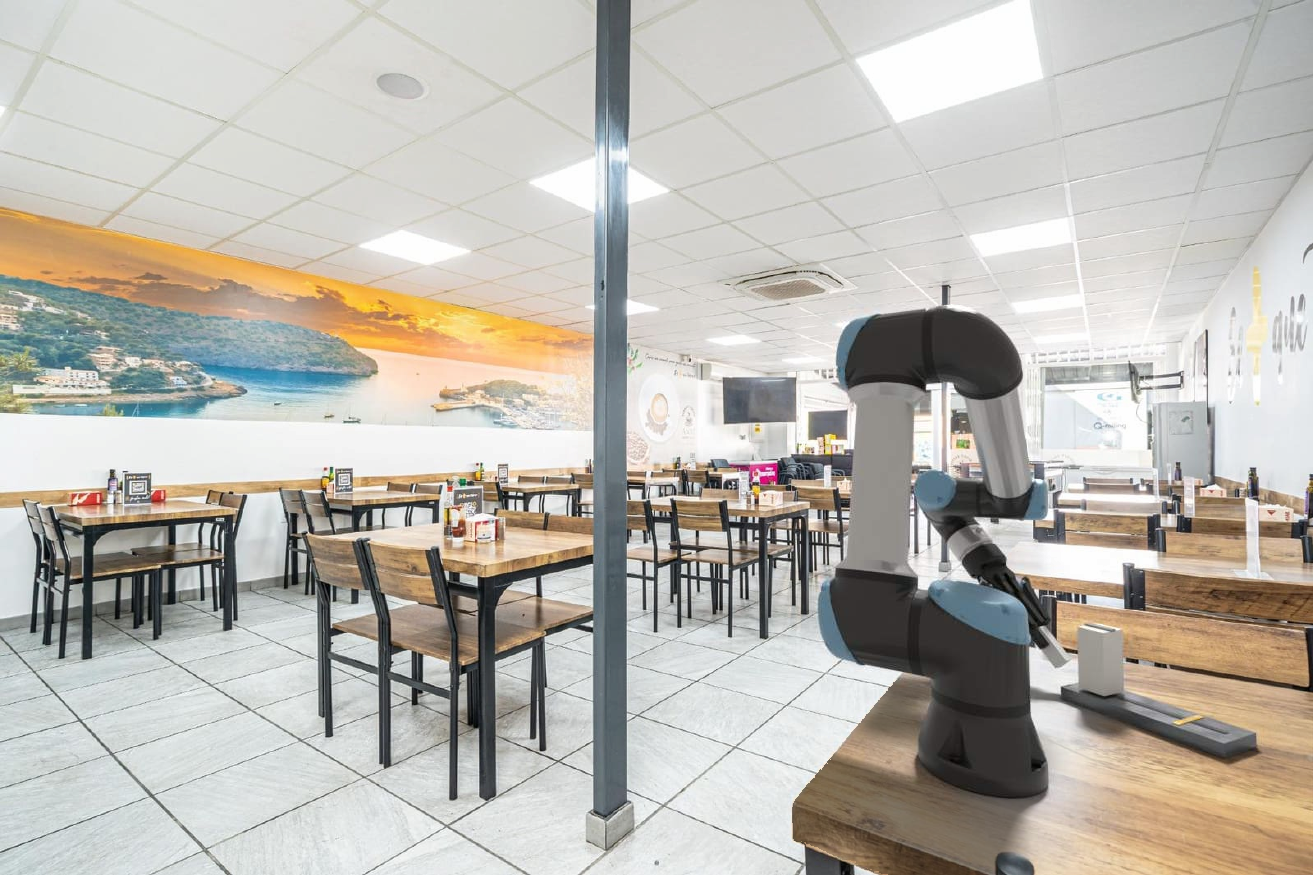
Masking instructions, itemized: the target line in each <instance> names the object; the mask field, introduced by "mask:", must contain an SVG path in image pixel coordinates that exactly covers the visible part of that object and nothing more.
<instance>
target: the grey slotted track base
mask: <svg viewBox="0 0 1313 875" xmlns="http://www.w3.org/2000/svg"><path fill="white" fill-rule="evenodd" d="M1060 699H1061V700H1064V701H1066V702H1069V703H1071V704H1074V705H1078V706H1080V707H1083V708H1085V709H1088V710H1090V711H1094V712H1097V713H1099V714H1102V715H1105V716H1107V717H1110V718H1113V719H1115V720H1117V721H1122V722H1124V723H1126V724H1129V725H1132V726H1135V727H1138V728H1139V729H1142V730H1146V731H1148V732H1151V733H1153V734H1156V735H1159V736H1162V737H1165V738H1167V739H1170V740H1173V741H1176V742H1178V743H1180V744H1183V745H1187V746H1189V747H1191V748H1195V749H1197V750H1200V751H1203V752H1205V753H1209V754H1211V755H1213V756H1216V757H1219V758H1222V759H1228V758H1230V757H1233V756H1236V755H1238V754H1241V753H1245V752H1247V751H1250V750H1253V749H1255V748H1257V747H1258V746H1257V742H1258V741H1257V732H1255V731H1253V730H1249V729H1247V728H1246V729H1245V728H1243V727H1239V726H1236V725H1234V724H1231V723H1227V722H1224V721H1222V720H1218V719H1215V718H1213V717H1209V716H1206V715H1202V714H1199V713H1197V712H1194V711H1191V710H1187V709H1184V708H1181V707H1178V706H1174V705H1172V704H1168V703H1166V702H1162V701H1159V700H1156V699H1153V698H1150V697H1147V696H1145V695H1144V696H1143V695H1141V694H1137V693H1135V692H1132V691H1129V690H1126V689H1124V692H1120V693H1116V694H1112V695H1108V696H1102V695H1099V694H1096V693H1093V692H1090V691H1087V690H1085V689H1082V688H1079V681H1077V682H1076V683H1075V682H1074V683H1071V684H1070V683H1069V684H1066V685H1062V686H1060Z"/></svg>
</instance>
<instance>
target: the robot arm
mask: <svg viewBox="0 0 1313 875" xmlns="http://www.w3.org/2000/svg"><path fill="white" fill-rule="evenodd" d="M836 348H837V349H836V354H835V355H836V356H835V366H836V367H837V369H836V377H837V381H838V382H839V384H840V386H841V387H842V388H843V389H846V390H847V398H849V399H850V400H851V401H852V402H853V403H854V405H855V406H856V410H855V411H856V412H855V424H854V438H853V439H854V441H853V456H852V468H851V469H852V472H851V473H852V474H851V486H850V487H851V488H850V501H849V519H848V520H849V521H848V530H847V532H848V533H847V549H846V556H845V557H844V559H842V560H841V561H840V562H839V563H838V564H836V565H835V568H834V569H835V570H834V577H833V576H832V577H830V578H827V579H825V580H824V581H823V583H822V585H821V586H820V592H819V593H818V598H817V618H818V627H819V631H820V634H821V638H822V640H823V642H824V645H825V647H826V648H827V650H828V651H829V653H831V655H833V656H834V657H836V659H837V658H838V659H840V660H844V661H848V662H852V663H855V664H856V665H859V666H870V667H875V668H880V669H884V670H890V671H895V672H901V673H905V674H910V675H914V676H920V677H925V678H928V679H930V683H931V684H930V685H931V686H930V687H931V690H930V692H931V694H930V695H931V698H930V703H929V705H928V708H927V711H926V714H925V717H924V719H923V723H922V726H921V729H920V732H919V735H918V740H917V744H918V745H917V747H918V748H917V752H918V754H917V755H918V756H917V757H918V759H919V761H920V763H921V765H922V766H923V767H924V768H925V769H927V771H929V772H930V773H931V774H933V775H934V776H935V777H936V778H939V779H940V780H943V781H945V782H947V783H949V784H951V785H953V786H956V787H959V788H962V789H964V790H967V791H970V792H975V793H979V794H981V795H982V794H984V795H987V796H994V797H1004V798H1005V797H1006V798H1022V797H1029V796H1033V795H1038V794H1040V793H1042V792H1043V791H1044V790H1045V789H1046V788H1047V787H1048V785H1049V763H1048V759H1047V756H1046V753H1045V751H1044V749H1043V745H1042V743H1041V740H1040V737H1039V734H1038V731H1037V729H1036V726H1035V724H1034V723H1035V722H1034V721H1033V718H1032V714H1031V713H1032V711H1031V710H1032V709H1031V708H1032V707H1031V675H1030V674H1031V673H1030V644H1031V641H1032V642H1034V644H1035V645H1036V647H1037V648H1039V650H1041V652H1042V653H1043V654H1044V656H1045V657H1046V658H1047V659H1048V661H1049V663H1050V664H1051V665H1052V667H1054V669H1059V668H1062V667H1064V666H1065V665H1066V664H1068V663H1069V662H1071V661H1072V658H1071V657H1070V655H1069V654H1068V653H1067V652H1066V650H1065V649H1064V648H1063V647H1062V645H1061V644H1060V643H1059V641H1058V639H1057V638H1056V637H1055V635H1054V634H1053V633H1052V631H1051V630H1050V629H1049V628H1048V626H1049V624H1050V623H1051V621H1052V618H1051V617H1050V615H1049V613H1048V612H1047V610H1046V608H1045V607H1044V605H1043V604H1042V602H1041V600H1040V598H1039V597H1038V595H1037V593H1036V591H1034V589H1033V587H1032V584H1031V580H1030V578H1029V577H1028V576H1023V577H1022V578H1021V577H1019V576H1016V573H1015V572H1014V571H1013V570H1011V569H1010V568H1009V566H1008V565H1007V560H1008V559H1007V557H1006V555H1005V554H1004V553H1003V551H1002V550H1001V548H1000V547H999V546H998V545H997V544H995V543H994V542H993V539H992V538H991V537H990V536H989V534H988V533H987V532H986V530H984V528H983V527H982V526H981V524H980V523H979V522H978V521H977V519H976V518H978V519H979V518H985V519H1000V520H1011V521H1014V520H1016V521H1021V522H1024V521H1042V520H1045V519H1046V517H1047V516H1048V513H1049V511H1048V510H1049V490H1048V489H1049V488H1048V484H1047V483H1046V481H1045V480H1044V479H1040V478H1039V479H1038V478H1035V477H1032V472H1031V467H1030V459H1029V453H1028V447H1027V446H1028V445H1027V441H1026V440H1027V439H1026V434H1025V428H1024V427H1025V426H1024V421H1023V415H1022V409H1021V408H1022V407H1021V403H1020V395H1019V389H1018V387H1019V386H1020V385H1021V384H1022V382H1023V379H1024V372H1023V365H1022V360H1021V356H1020V354H1019V351H1018V349H1017V347H1016V346H1015V344H1014V342H1013V341H1012V339H1011V338H1010V337H1009V335H1008V334H1007V333H1006V332H1005V331H1004V330H1003V329H1002V328H1001V327H1000V325H999V324H997V323H996V322H994V321H993V320H992V319H991V318H990V317H988V316H986V315H984V314H982V313H980V312H979V311H977V310H974V309H973V308H969V307H967V306H962V305H956V304H955V305H954V304H944V305H943V304H942V305H937V306H933V307H927V308H925V307H924V308H919V309H911V310H905V311H897V312H888V313H882V314H881V313H874V314H871V315H869V316H864V317H859V318H858V317H857V318H855V319H853V320H851V321H850V322H849V323H848V324H847V325H846V326H845V327H844V328H843V330H842V332H841V334H840V336H839V340H838V342H837V347H836ZM943 383H951V384H952V385H953V388H954V390H955V392H956V393H957V395H959V396H960V397H962V398H963V400H964V403H965V404H964V405H965V408H966V412H967V416H968V417H967V418H968V421H969V424H970V428H971V434H972V438H973V441H974V445H975V450H976V454H977V458H978V462H979V468H980V471H981V476H982V477H952V476H951V475H950V474H949V473H948V472H946V471H943V470H941V469H928V470H925V471H923V472H922V473H921V474H920V475H918V477H917V478H916V479H915V480H914V482H913V483H914V484H913V493H914V496H915V498H916V502H917V503H918V504H917V505H918V507H919V509H920V510H921V512H922V514H923V515H924V517H925V518H926V519H927V520H928V521H929V522H930V524H931V525H932V527H933V528H934V530H935V531H936V532H937V533H938V534H939V536H940V537H941V538H942V539H943V541H944V542H945V544H946V546H947V547H948V548H949V550H950V551H951V552H952V555H954V556H955V559H957V561H958V562H961V566H962V567H963V568H964V570H965V571H966V572H967V574H968V575H969V576H970V578H971V579H973V580H977V582H978V583H973V582H969V581H964V580H963V581H962V580H955V581H954V580H951V579H950V580H949V579H938V580H934V581H931V582H930V584H929V586H928V588H927V589H921V588H919V575H918V574H917V573H916V571H914V569H913V568H912V567H911V566H910V564H909V563H908V562H909V561H908V560H909V540H910V520H911V519H910V517H911V516H910V515H911V500H912V499H911V495H912V493H911V492H912V476H913V475H912V473H913V451H914V430H915V428H914V427H915V425H914V424H915V408H917V406H918V405H920V403H922V402H923V401H924V400H925V399H926V397H927V385H932V384H933V385H934V384H943Z"/></svg>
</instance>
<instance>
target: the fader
mask: <svg viewBox="0 0 1313 875" xmlns="http://www.w3.org/2000/svg"><path fill="white" fill-rule="evenodd" d="M1076 630H1077V662H1078V663H1077V664H1078V665H1077V668H1078V672H1077V673H1078V682H1079V688H1082V689H1085V690H1087V691H1090V692H1093V693H1096V694H1099V695H1102V696H1108V695H1112V694H1116V693H1120V692H1124V690H1125V678H1124V674H1125V672H1124V671H1125V670H1124V638H1123V636H1124V635H1123V632H1124V631H1123V630H1124V629H1122V628H1119V627H1115V626H1110V625H1106V624H1101V623H1098V622H1097V623H1093V622H1084V625H1079V626H1078V625H1077V627H1076Z"/></svg>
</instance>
